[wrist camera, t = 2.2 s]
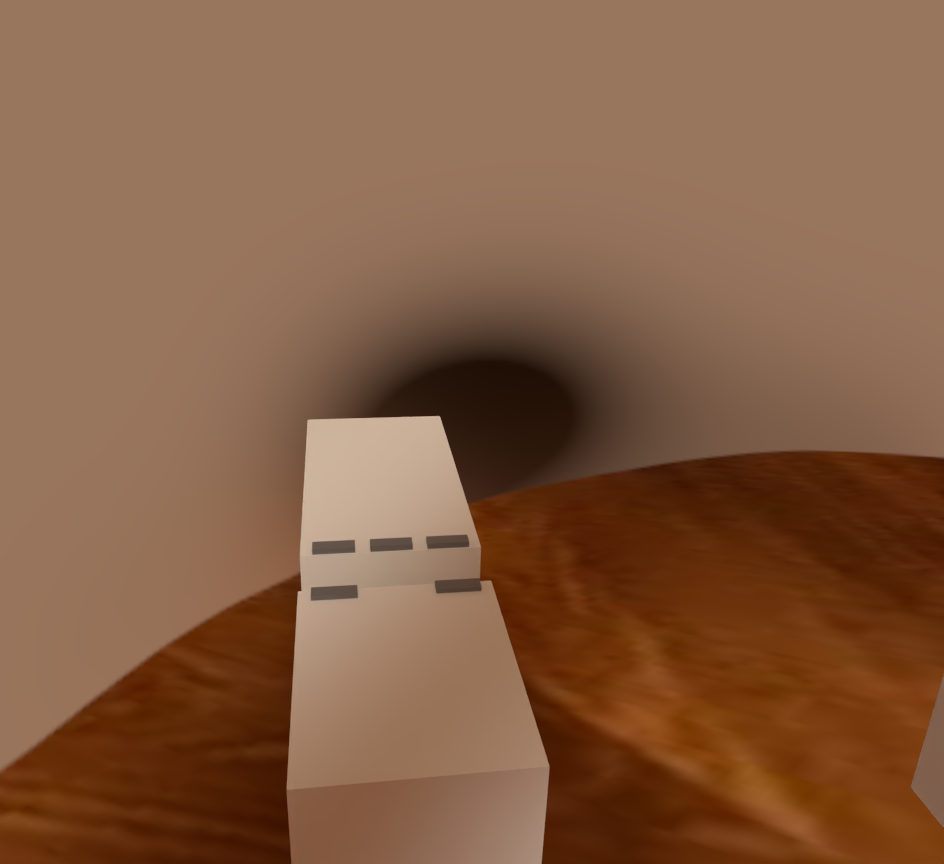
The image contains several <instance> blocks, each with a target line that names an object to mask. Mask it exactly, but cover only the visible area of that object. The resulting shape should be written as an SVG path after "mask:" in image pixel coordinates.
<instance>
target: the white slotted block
mask: <svg viewBox="0 0 944 864" xmlns="http://www.w3.org/2000/svg"><path fill="white" fill-rule="evenodd" d="M480 561H481V545H480V542H479V539H478V536H477V533H476V530H475V526H474V523H473V520H472V517H471V514H470V511H469V507H468V504H467V501H466V498H465V495H464V492H463V488H462V485H461V482H460V479H459V476H458V473H457V469H456V466H455V463H454V460H453V457H452V454H451V450H450V447H449V444H448V441H447V438H446V435H445V432H444V429H443V425H442V422H441V419H440V416H429V417H394V418H358V419H357V418H356V419H318V420H308V425H307V443H306V459H305V478H304V494H303V510H302V529H301V545H300V569H301V588H302V591H311V587H327V586H345V585H357V588H368V587H386V586H404V585H422V584H435V580H453V579H471V578H479V579H480Z"/></svg>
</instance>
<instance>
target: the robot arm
mask: <svg viewBox="0 0 944 864" xmlns="http://www.w3.org/2000/svg"><path fill="white" fill-rule="evenodd" d="M911 788H912V789H913V791H914V792H915V793H916V794H917V795H918V797H919V798H920V799H921V800H922V802H923V803H924V804H925V805H926V807H927V808H928V809H929V810H930V811H931V813H932V814H933V815H934V816H935V818H936V819H937V820H938V821H939V823H940V824H941V825H942V826H943V828H944V676H943V679H942V683H941V686H940V690H939V693H938V696H937V700H936V703H935V707H934V710H933V713H932V717H931V720H930V724H929V727H928V730H927V734H926V737H925V741H924V744H923V747H922V751H921V754H920V758H919V761H918V765H917V768H916V771H915V775H914V778H913V782H912V785H911Z"/></svg>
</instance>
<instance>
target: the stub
mask: <svg viewBox="0 0 944 864" xmlns="http://www.w3.org/2000/svg"><path fill="white" fill-rule="evenodd" d="M549 768H550V766H549V763H548V760H547V757H546V753H545V750H544V747H543V744H542V741H541V737H540V734H539V731H538V728H537V725H536V722H535V718H534V715H533V712H532V709H531V706H530V702H529V699H528V696H527V693H526V690H525V687H524V683H523V680H522V677H521V674H520V671H519V667H518V664H517V661H516V658H515V655H514V652H513V648H512V645H511V642H510V639H509V636H508V633H507V629H506V626H505V623H504V620H503V617H502V613H501V610H500V607H499V604H498V601H497V598H496V594H495V591H494V588H493V585H492V582H491V581H480V579H479V578H471V579H453V580H435V584H422V585H404V586H386V587H368V588H357V585H345V586H327V587H311V591H298V600H297V617H296V634H295V652H294V669H293V686H292V704H291V721H290V738H289V756H288V773H287V805H288V819H289V834H290V849H291V864H541V863H542V851H543V839H544V827H545V815H546V803H547V792H548V780H549Z"/></svg>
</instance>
